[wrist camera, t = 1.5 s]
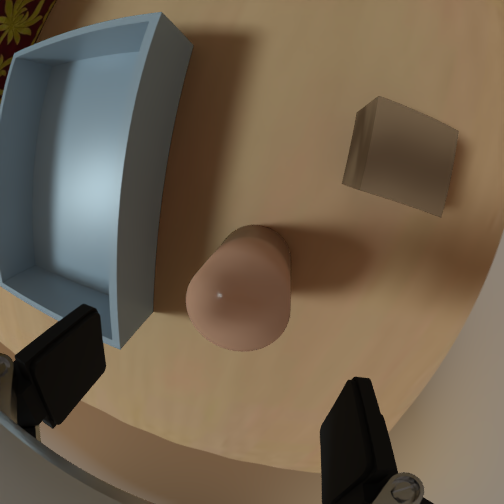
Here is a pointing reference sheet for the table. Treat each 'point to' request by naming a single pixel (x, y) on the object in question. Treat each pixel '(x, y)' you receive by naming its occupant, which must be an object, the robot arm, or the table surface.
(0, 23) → the decorative box
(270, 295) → the canister
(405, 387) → the table surface
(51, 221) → the tote
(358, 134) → the walnut block
